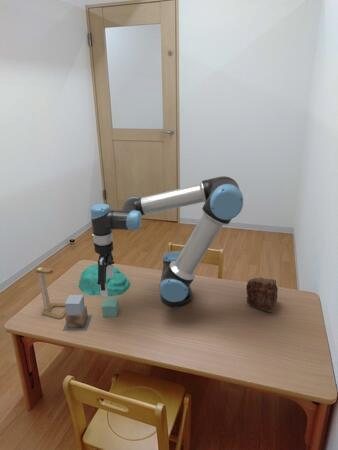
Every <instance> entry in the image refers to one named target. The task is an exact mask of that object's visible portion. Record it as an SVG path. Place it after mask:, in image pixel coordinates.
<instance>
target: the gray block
mask: <svg viewBox="0 0 338 450" xmlns="http://www.w3.org/2000/svg"><path fill="white" fill-rule="evenodd" d="M84 298H85V297H84V294H69V295H68V296H67V298H66V301H65V302H64V303H65V307H64V309H65V308H66V314H67V316H81V315H82V313H83V310H84V308H85V306H86V305H85V304H86V303H85V299H84Z"/></svg>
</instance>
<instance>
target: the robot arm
mask: <svg viewBox="0 0 338 450" xmlns="http://www.w3.org/2000/svg"><path fill="white" fill-rule="evenodd" d="M200 203H203V206H202V208H201V209H202V213H203V214H202V215H201V218H200V219H199V221H198V223H197V224H196V226H195V227H194V229H193V231H192V233H191V234H190V236H189V238H188V240H186V242H185V245H184V246H183V248H182V250H174V251H173V250H172V251H168V252H166V253H164V254H163V256H162V271H161V278H160V283H159V293H160V300H161V302H162V303H164V304H165V305H167V306H169V307H183V306H185V305H188V304H190V303H191V302H192V299H193V291H192V288H191V284H192V282H193V281H194V279H195V277H196V274H195V270H196V269H197V267H198V266H199V264H200V263H201V262H202V259H203V258H204V256H205V255H206V253H207V251H208V250H209V248H210V247H211V245H212V244H213V242H214V240H215V239H216V237H217V236H218V234H219V232H221V229H222V228H223V226H226V225H229V224H230V222H231V221H232V220H233V219H234V218H236V217H237V216H238V215H239V214H240V213H241V212H242V210H243V208H244V207H243V206H244V196H243V194H242V191H241V190H240V187H239V184H238V183H237V182H236V179H235V180H234V179H233V178H232V177H229V176H226V175H225V176H222V175H221V176H218V177H213V178H209V179H208V178H207V179H203V180H200V183H198V184H193V185H190V186H185V187H182V188H181V187H180V188H177V189H173V190H168V191H164V192H161V193H156V194H151V195H147V196H143V197H136V196H133V197H129V198H128V199H127V200H125V201H124V203H123V206H122V207H121V209H120V210H116V209H115V210H113V209H111V207H110V205H109V204H106V203H98V204H94V205H93V206H91V207H90V221H91V222H90V223H91V228H92V234H91V236H92V237H93V238H92V239H93V249H94V252H95V253H96V254H98V259H97V264H98V282H97V284H98V285H100V293H101V296H100V297H109V296H108V292H107V282H106V269H107V278H114V275H113V267H114V266H113V265H115V261H114V256H113V254H112V252H113V250H114V242H113V241H114V240H113V230H119V231H121V230H123V231H124V230H125V231H126V230H127V231H138V230H140V229H141V227H142V220H143V218H142V217H143V216H147V215H151V214H156V213H159V212H165V211H169V210H173V209H177V208H179V209H180V208H182V207H187V206H191V205H197V204H200Z"/></svg>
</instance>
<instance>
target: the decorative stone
mask: <svg viewBox="0 0 338 450" xmlns="http://www.w3.org/2000/svg"><path fill="white" fill-rule="evenodd" d="M113 275H114V278H107V269H106V282H107V292H108V296H107V297H113V296H115V297H116V296H120V295H121V296H122V295H123V294H125V293H126V291H127V290H129V288H130V286H131V282H130V280H129V279H128V277H127V276H126V274H124V273H123V272H122V271H120V270H119V268H118V267H116V266H113ZM78 282H79V283H78V288H79V290H80V291H81V292H82V293H83V295H86V296H87V295H88V296H100V297H102V296H101V293H100V285H98V284H97V282H98V263H94V264H91V265H90V266H88V267H85V269H83V271H82V272H81V274H80V278H79V280H78Z"/></svg>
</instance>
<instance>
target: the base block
mask: <svg viewBox="0 0 338 450" xmlns="http://www.w3.org/2000/svg"><path fill="white" fill-rule="evenodd" d="M87 307H88V306H87V305H85V308H84V310H83V313H82V315H81V316H67V314H66V315H65V316H64V318H65V324H67V328H84V327H85V324H86V321H87V319H88V315H89V313H88V309H87Z"/></svg>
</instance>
